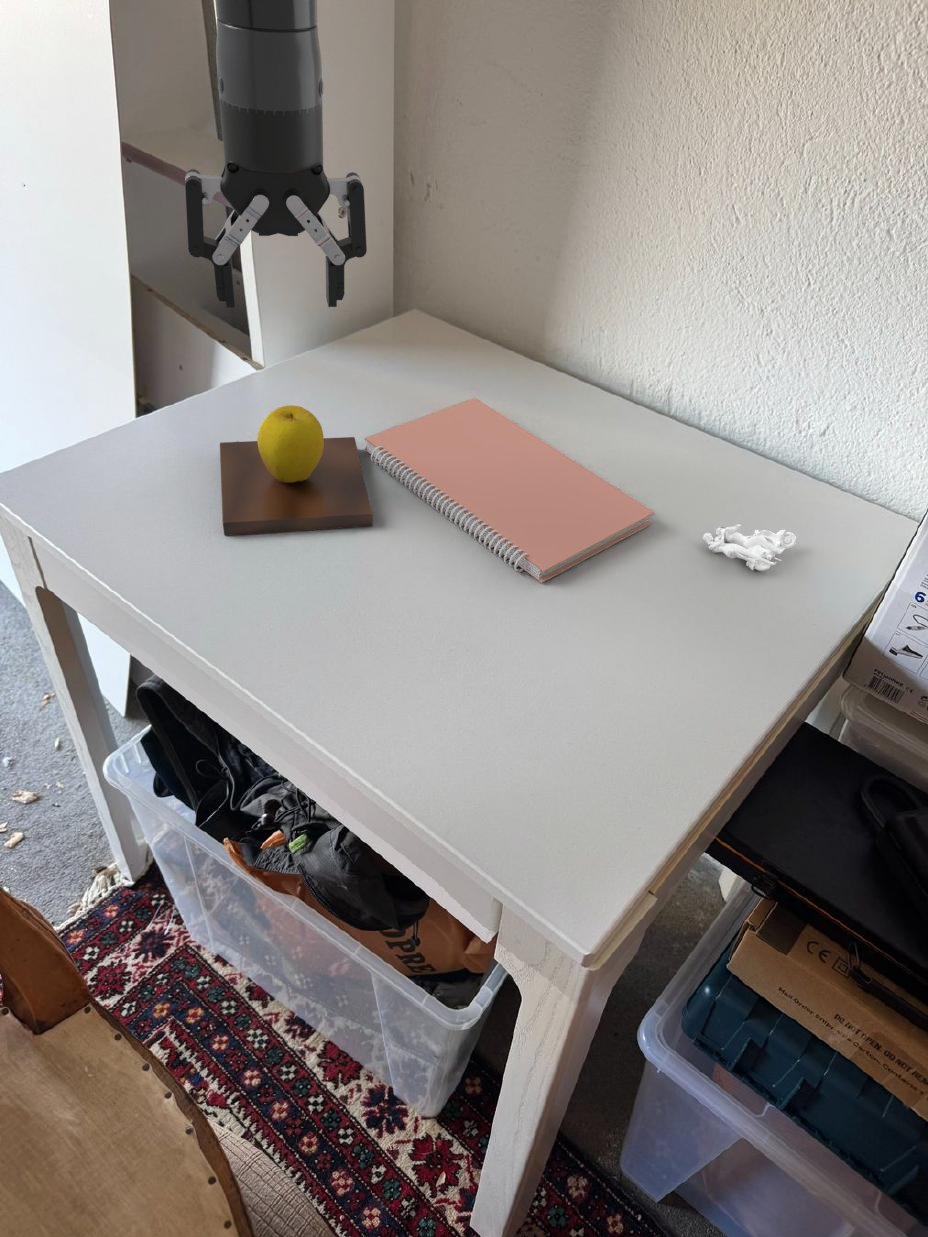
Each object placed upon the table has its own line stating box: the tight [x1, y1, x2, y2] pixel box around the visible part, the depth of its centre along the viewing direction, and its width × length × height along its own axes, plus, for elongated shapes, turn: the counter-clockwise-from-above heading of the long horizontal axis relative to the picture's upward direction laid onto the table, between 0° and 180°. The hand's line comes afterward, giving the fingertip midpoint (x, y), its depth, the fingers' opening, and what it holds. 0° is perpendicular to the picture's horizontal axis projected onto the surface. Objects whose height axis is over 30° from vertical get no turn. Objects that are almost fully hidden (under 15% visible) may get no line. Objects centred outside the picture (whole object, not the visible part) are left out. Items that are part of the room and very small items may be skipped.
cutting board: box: [219, 436, 374, 536], centre depth 93 cm, size 14×14×2 cm
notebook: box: [364, 396, 656, 584], centre depth 96 cm, size 27×17×2 cm, turn 41°
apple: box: [256, 404, 325, 483], centre depth 90 cm, size 6×6×8 cm
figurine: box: [702, 523, 797, 572], centre depth 91 cm, size 3×8×8 cm
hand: (281, 304), depth 79 cm, fingers open, 8 cm apart
